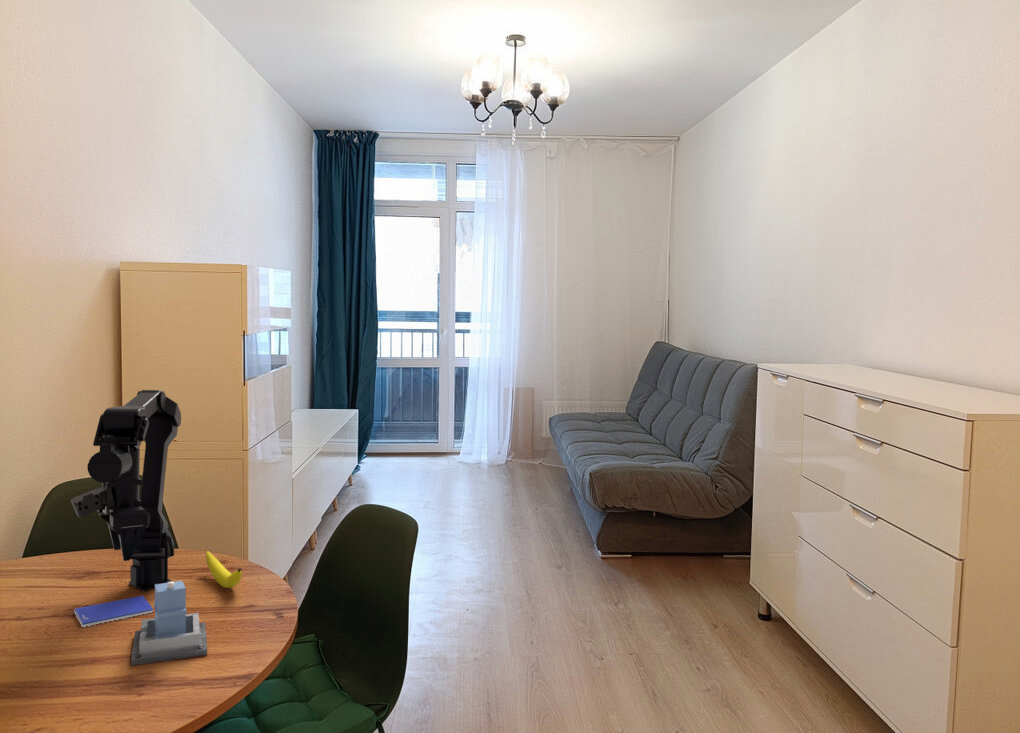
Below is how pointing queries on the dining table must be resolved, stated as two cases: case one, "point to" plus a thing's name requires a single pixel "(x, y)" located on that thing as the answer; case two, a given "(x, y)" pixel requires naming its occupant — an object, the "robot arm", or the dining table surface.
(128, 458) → the robot arm
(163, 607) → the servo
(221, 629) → the dining table surface
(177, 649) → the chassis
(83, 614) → the hard drive
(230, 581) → the banana
